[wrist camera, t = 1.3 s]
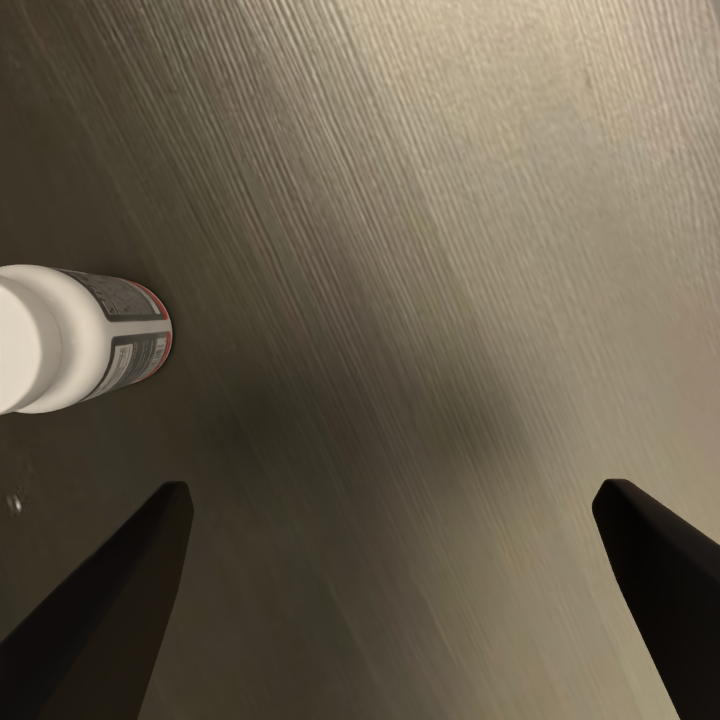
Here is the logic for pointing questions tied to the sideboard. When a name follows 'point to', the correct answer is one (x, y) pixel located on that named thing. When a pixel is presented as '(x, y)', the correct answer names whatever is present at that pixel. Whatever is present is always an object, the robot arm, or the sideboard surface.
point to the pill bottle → (74, 336)
